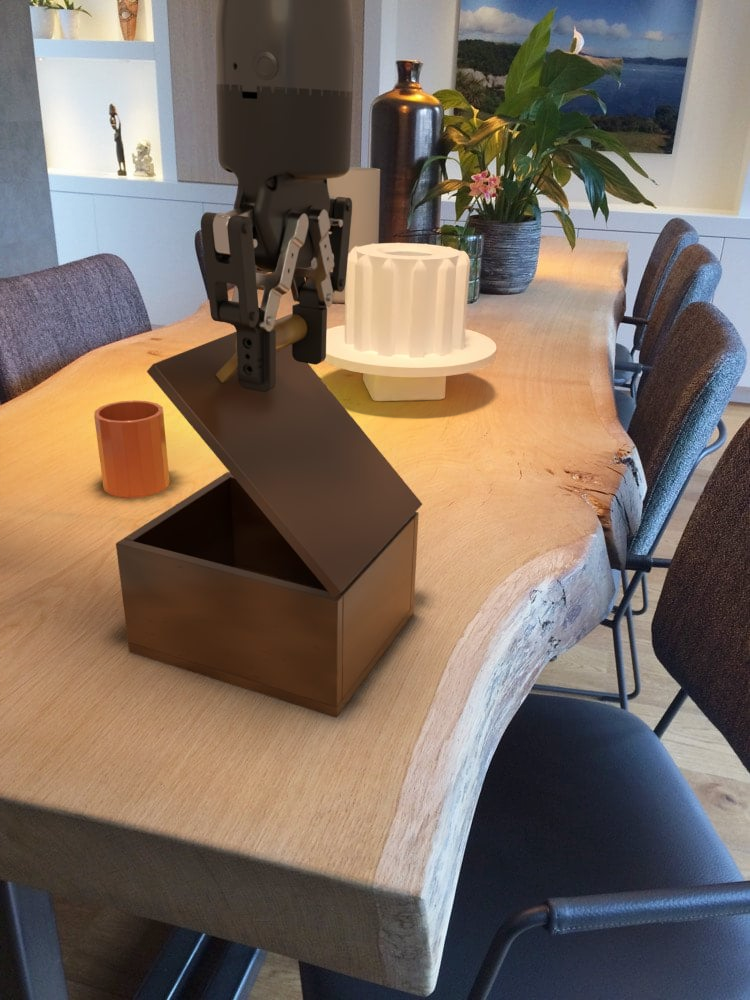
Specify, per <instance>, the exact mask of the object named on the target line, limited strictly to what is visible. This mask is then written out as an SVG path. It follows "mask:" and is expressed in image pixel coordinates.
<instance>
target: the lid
mask: <svg viewBox="0 0 750 1000" xmlns="http://www.w3.org/2000/svg"><path fill="white" fill-rule="evenodd" d="M272 330H276V385H275V387H274V388H272V389H271V390H269V391H267V392H260V391H255V390H250V389H245V388H243V387H242V386H241V385H240V383H239V379H238V363H237V358H238V357H237V332H236V331H234V332H232V333H229V334H226V335H224V336H221V337H219V338H216V339H214V340H211V341H208V342H206V343H204V344H200V345H198V346H195V347H193V348H190V349H187V350H186V351H182V352H180V353H178V354H175V355H173V356H170V357H168V358H165V359H162V360H159V361H157V362H154V363H152V365H150V366H149V368H148V369H147V370H146V373H147V374H148V375H149V377H150V378H151V379H152V380H153V382H154V383H155V384H156V385H157V386H158V388H159V389H160V390H161V391H162V392H163V393H164V395H165V396H166V397H167V398H168V399H169V401H170V402H171V403H172V404H173V406H174V407H175V408H176V409H177V410H178V412H179V413H180V414H181V415H182V417H184V419H185V420H186V421H187V423H188V424H189V425H190V426H191V427H192V429H193V430H194V431H195V432H196V433H197V434H198V436H199V437H200V438H201V439H202V441H203V442H204V443H205V444H206V445H207V447H208V448H209V449H210V450H211V451H212V453H213V454H214V455H215V456H216V457H217V459H218V460H219V461H220V462H221V464H222V465H223V466H224V467H225V469H226V470H227V472H230V473H231V474H232V476H233V477H234V478H235V479H236V480H237V482H238V483H239V484H240V485H241V486H242V488H243V489H244V490H245V491H246V492H247V494H248V495H249V496H250V497H251V499H252V500H253V501H254V502H255V503H256V505H257V506H258V507H259V508H260V509H261V511H262V512H263V513H264V514H265V515H266V517H267V518H268V519H269V520H270V521H271V523H272V524H273V525H274V526H275V528H276V529H277V530H278V531H279V532H280V534H281V535H282V536H283V537H284V538H285V540H286V541H287V542H288V543H289V544H290V546H291V547H292V548H293V549H294V551H295V552H296V553H297V554H298V555H299V557H300V558H301V559H302V560H303V561H304V563H305V564H306V565H307V566H308V567H309V569H310V570H311V571H312V572H313V574H314V575H315V576H316V577H317V578H318V580H319V581H320V582H321V583H322V584H323V586H324V587H325V588H326V589H327V590H328V592H329V593H330V594H331V595H332V597H335V596H336V595H338V594H339V593H341V592H342V591H343V590H344V589H345V588H346V587H347V585H348V584H349V583H350V582H351V581H352V580H353V579H354V578H355V577H356V576H357V575H358V574H359V573H360V571H361V570H362V569H363V568H364V567H365V566H366V565H367V564H368V563H369V562H370V561H371V560H372V558H373V557H374V556H375V555H376V554H377V553H378V552H379V551H380V550H381V549H382V548H383V547H384V545H385V544H386V543H387V542H388V541H389V540H390V539H391V538H392V537H393V536H394V535H395V534H396V532H397V531H398V530H399V529H400V528H401V527H402V526H403V525H404V524H405V523H406V522H407V521H408V519H409V518H410V517H411V516H412V515H413V514H414V513H415V512H418V510H419V509H420V508H421V507H422V505H423V503H422V502H421V500H420V499H419V498H418V497H417V496H416V494H415V492H414V491H413V490H412V489H411V488H410V486H408V484H407V483H406V482H405V480H404V479H403V478H402V477H401V475H400V474H399V473H398V472H397V471H396V470H395V468H394V467H393V465H392V464H391V463H390V462H389V460H387V458H386V457H385V456H384V454H382V452H381V451H380V450H379V449H378V447H377V446H376V444H374V442H373V441H372V440H371V439H370V438H369V436H368V435H367V434H366V433H365V432H364V430H363V429H362V427H361V426H359V424H358V423H357V422H356V420H355V418H353V417H352V415H351V414H350V413H349V412H348V411H347V409H346V408H345V407H344V406H343V404H342V403H341V402H340V401H339V400H338V398H337V397H336V396H335V395H334V393H333V392H332V391H331V390H330V389H329V387H328V386H327V385H326V384H325V383H324V380H322V379H321V377H320V376H319V375H318V374H317V373H316V371H315V370H314V369H313V367H312V366H311V364H309V363H303V362H298V361H296V360H295V359H294V358H293V356H292V344H293V343H295V342H298V341H300V340H302V339H303V338H304V337H305V336H306V333H307V324H306V322H305V320H304V319H303V318H302V317H301V316H300V315H298V314H292V313H290V314H287V315H285V316H282V317H280V318H276V320H275V324H274V327H273V329H272Z"/></svg>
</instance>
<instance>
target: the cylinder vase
mask: <svg viewBox="0 0 750 1000" xmlns="http://www.w3.org/2000/svg"><path fill="white" fill-rule="evenodd" d="M327 186H328V192H329V196H337V197H347V198H350V199H351V200H352V217H351V228H350V239H349V250H348V253H350V252H351V250H352V249H353V248H354V247H355V246H358V247H360V246H364V245H371V244H372V243H374V244H379V235H380V234H379V231H380V197H381V196H380V195H381V194H380V193H381V169H380V168H374V167H364V166H363V167H362V166H350V168H349V171H348V172H347V173H346V174H345V175H344V176H341V177H338V178H328V179H327ZM328 233H329V234H331V233H332V232H328ZM332 255H333V253H332ZM333 260H334V255H333ZM331 272H333V269H332V271H331ZM333 294H334V297H333V302H332V303H335V304H345V288H344V290H343V291H342V292H337V291H335V292H334V293H333Z"/></svg>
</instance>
